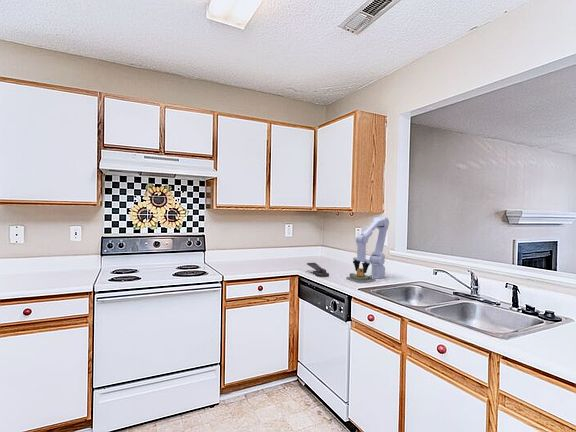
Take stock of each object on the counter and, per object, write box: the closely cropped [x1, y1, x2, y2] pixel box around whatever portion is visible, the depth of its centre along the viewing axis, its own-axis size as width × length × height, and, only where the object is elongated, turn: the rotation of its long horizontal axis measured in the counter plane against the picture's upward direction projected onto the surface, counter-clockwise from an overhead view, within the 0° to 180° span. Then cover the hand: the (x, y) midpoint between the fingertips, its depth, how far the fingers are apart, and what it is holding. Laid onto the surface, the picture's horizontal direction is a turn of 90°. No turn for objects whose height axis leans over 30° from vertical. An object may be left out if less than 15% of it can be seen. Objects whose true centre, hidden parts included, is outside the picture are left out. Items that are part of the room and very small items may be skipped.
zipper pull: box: [306, 262, 330, 278], centre depth 249 cm, size 9×7×25 cm
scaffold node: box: [346, 272, 377, 284], centre depth 231 cm, size 14×17×4 cm
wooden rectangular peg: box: [356, 267, 366, 277], centre depth 229 cm, size 4×3×8 cm, turn 119°
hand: (360, 272), depth 229 cm, fingers open, 7 cm apart
